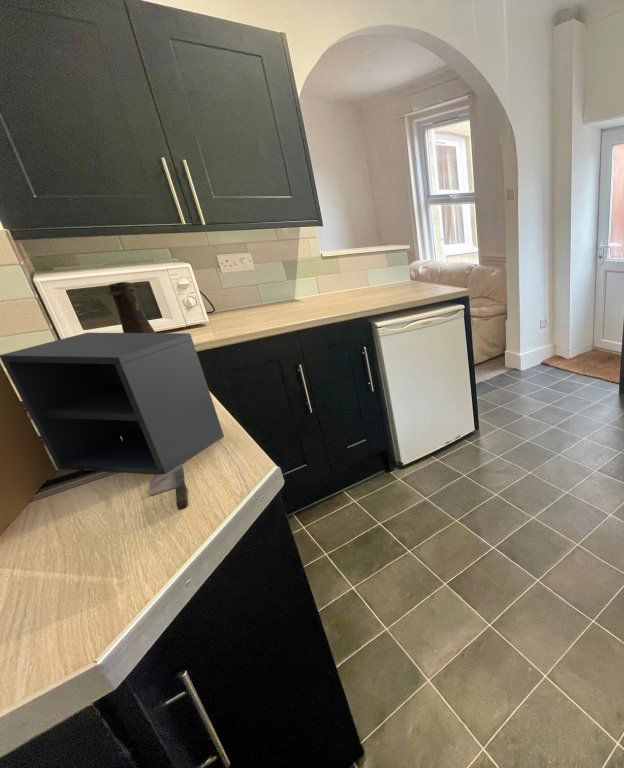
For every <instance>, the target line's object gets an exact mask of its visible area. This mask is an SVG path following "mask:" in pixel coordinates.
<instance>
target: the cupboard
mask: <svg viewBox="0 0 624 768" xmlns="http://www.w3.org/2000/svg"><path fill="white" fill-rule="evenodd" d="M0 360H1V361H0V362H2V364H3V367H4V368H5V370H6V372H7V375H8V376H9V378H10V380H11V383H12V385H13V387H15V389H16V391H17V393H18V396H19V397H20V400H21V401H22V404H23V405H24V408H25V410H27V413H28V414H29V416H30V419H31V421H32V422H33V424H34V426H35V429H36V431H38V432H37V433H39V435H40V437H41V439H42V441H43V444H44V446H45V448H46V449H47V452H49V453H48V454H49V456H50V457H51V459H52V460H53V462H54V464H55V466H56V469H57V470H64V471H80V470H84V469H93V470H98V471H97V472H99V471H102V472H101V473H121V474H122V473H123V474H137V475H138V474H139V475H155V474H167V473H168V472H170V471H171V470H173V469H174V468H176V467H177V466H179V465H182V464H185V463H186V462H188V461H189V460H191V459H192V458H194V457H196V456H197V455H198V454H201V453H202V452H203V451H205V450H206V449H207V448H209V447H211V446H212V445H214V444H215V443H217V442H218V441H219V440H221V439H222V438H223V437H225V434H224V431H223V429H222V426H221V422H220V420H219V416H218V414H217V410H216V407H215V405H214V401H213V399H212V395H211V392H210V389H209V386H208V383H207V380H206V376H205V374H204V371H203V368H202V364H201V362H200V358H199V356H198V352H197V350H196V346H195V343H194V341H193V337H192V335H191V333H189V332H188V333H187V332H185V333H181V332H180V333H178V332H177V333H176V332H175V333H174V332H173V333H172V332H171V333H170V332H156V333H123V332H84V333H80V334H76V335H73V336H68V337H64V338H61V339H60V338H59V339H57V340H53V341H49V342H45V343H42V344H37V345H34V346H30V347H25V348H22V349H18V350H14V351H10V352H6V353H3V354H0ZM120 436H122V438H123V442H122V441H121V439H120Z"/></svg>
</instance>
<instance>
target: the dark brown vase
mask: <svg viewBox="0 0 624 768" xmlns="http://www.w3.org/2000/svg"><path fill="white" fill-rule="evenodd" d="M108 287H109V291H107V292H106V294H107V295H111V296H112V298H113V301H114V304H115V308H116V310H117V313H118V317H119V320H120V324H121V328H122V333H157V332H156V331H155V329H154V327H152V325H151V323H150V322H149V319H148V318H147V316H146V314H145V312H144V310H143V308H142V306H141V303H140V302H139V300H138V298H137V295H136V292H137V291H139V289H138V288H135V287H133V283H132V282H129V281H121V282H115V283H110V284H108Z"/></svg>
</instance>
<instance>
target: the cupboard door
mask: <svg viewBox="0 0 624 768" xmlns="http://www.w3.org/2000/svg"><path fill="white" fill-rule="evenodd" d="M10 380H11V379H9V377H8V374H7V373H6V371H5V369H4V366H3V365H2V364H1V362H0V536H1V535H2V534H3V532H4V531H6V529H7V528H8V527H9V526H10V524H11V523H13V521H14V520H15V519H16V518H17V517H18V515H19V514H20V513H21V512H22V511H23V510H24V509H25V507H26V506H27V505H28V504H29V503H30V502H31V501H32V499H33V498H34V497H35V496H36V495H37V494H36V491H37V490H38V488H39V485H40V484H42V483H44V482H46V481H47V480H48V481H49V480H50V479H51V478H52V477H53V476H54V474H56V472H57V471H58V469H57V467H55V466H56V465H54V464H55V463H53V461H52V458H51V456H50V454H49V453H48V450H46V449H47V448H46V446H45V444H44V442H42V440H41V438H40V436H39V434H38V432H37V429H36V427H34V426H35V425H33V424H34V423H32V422H33V421H32V420H31V418H30V417H29V415H28V412H27V411H26V408H25V406H23V405H24V404H23V402H21V401H22V400H21V399H20V398H19V395H18V394H17V392H16V390H15V388H14V385H13V383H12V381H10ZM48 481H47V482H48ZM47 482H46V483H47ZM35 494H36V495H35ZM34 495H35V496H34ZM32 497H33V498H32Z"/></svg>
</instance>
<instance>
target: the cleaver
mask: <svg viewBox="0 0 624 768" xmlns="http://www.w3.org/2000/svg"><path fill="white" fill-rule="evenodd" d="M185 467H186V464H185V463H183V464H182V465H179V466H177V467H176V468H174V469H173V470H171V471H170V472H168V473H167V474H153V476H152V478H151V479H150V486H149V487H150V491H149V496H153V495H157V494H160V493H164V492H167V491H171V490H175V495H176V497H175V498H176V499H175V500H176V507H177V509H178V510H182V509H185V508H187V507H188V505H189V500H188V492H189V491H188V490H189V489H188V487H187V485H186V477H185Z"/></svg>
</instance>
